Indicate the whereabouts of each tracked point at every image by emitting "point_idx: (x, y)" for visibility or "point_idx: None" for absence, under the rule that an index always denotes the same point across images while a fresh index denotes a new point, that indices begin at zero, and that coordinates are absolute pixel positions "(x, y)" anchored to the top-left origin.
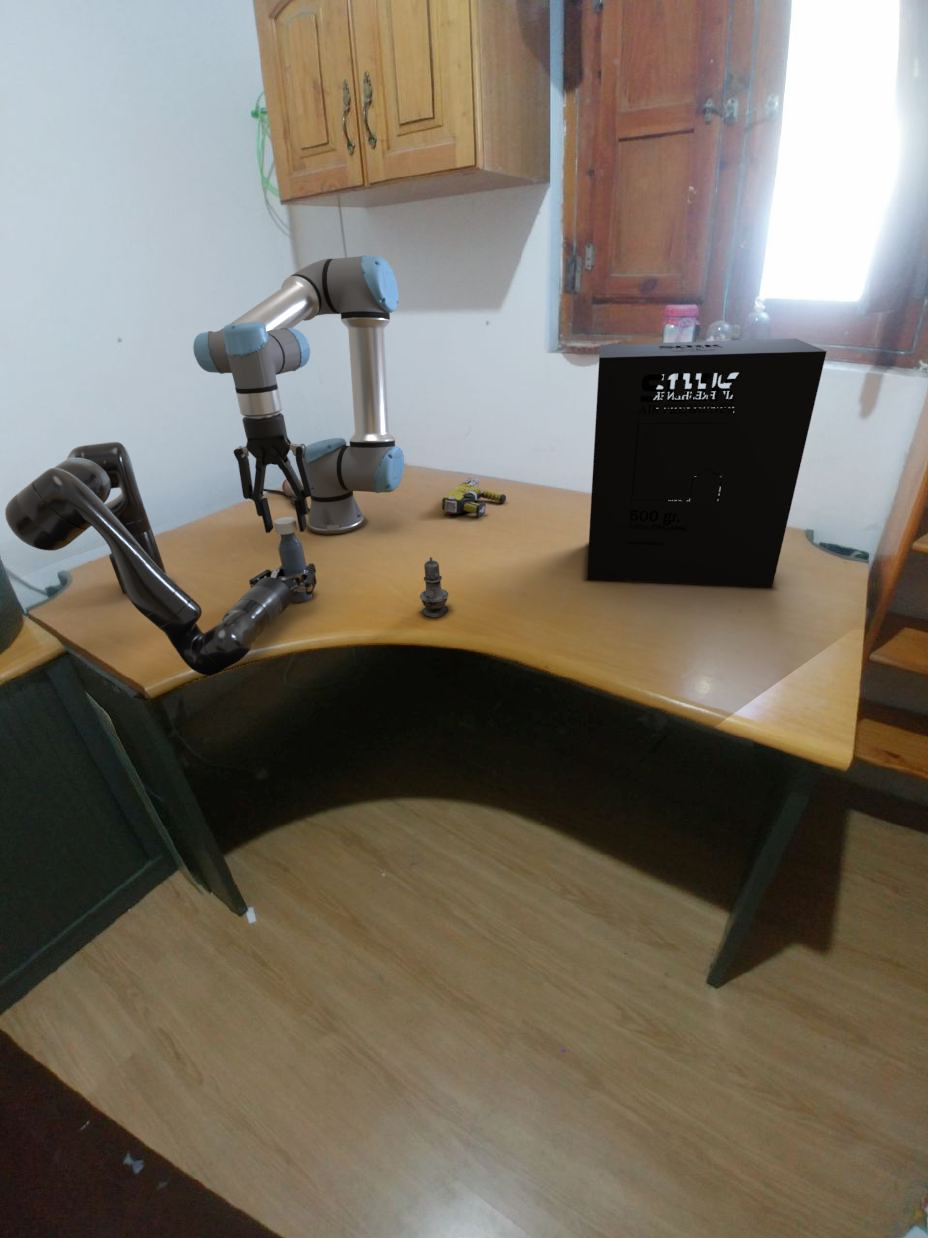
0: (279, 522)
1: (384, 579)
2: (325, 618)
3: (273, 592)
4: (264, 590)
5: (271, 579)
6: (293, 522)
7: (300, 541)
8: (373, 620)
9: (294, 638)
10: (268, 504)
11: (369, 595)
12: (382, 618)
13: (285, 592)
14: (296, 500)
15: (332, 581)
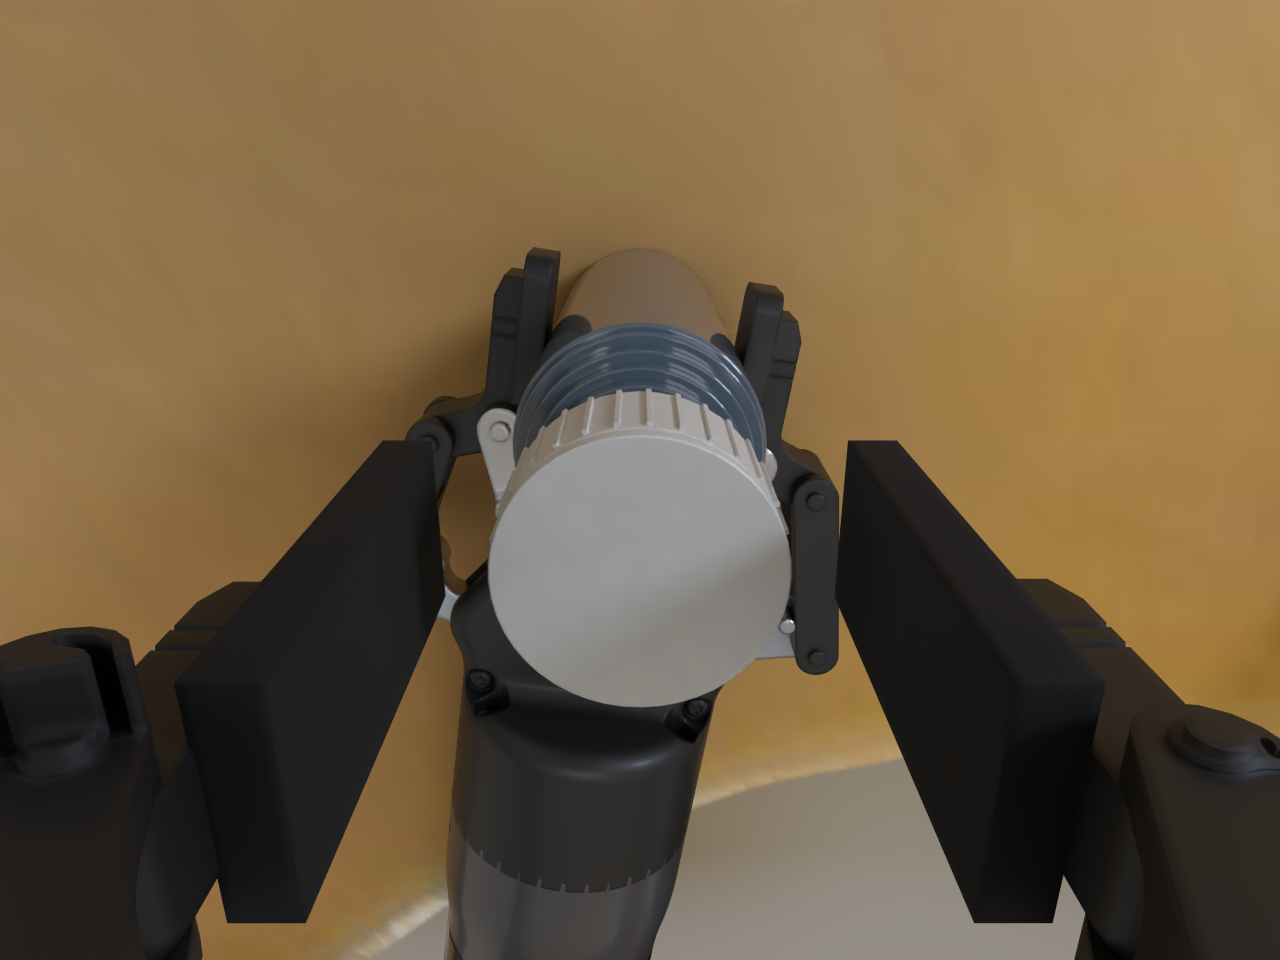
0: (585, 645)
1: (1224, 62)
2: None
3: (655, 875)
4: (610, 919)
5: (606, 804)
6: (779, 617)
7: (747, 407)
8: (1127, 616)
9: (732, 757)
10: (318, 602)
11: (1106, 322)
12: (1178, 598)
13: (698, 773)
14: (1023, 894)
15: (816, 76)
